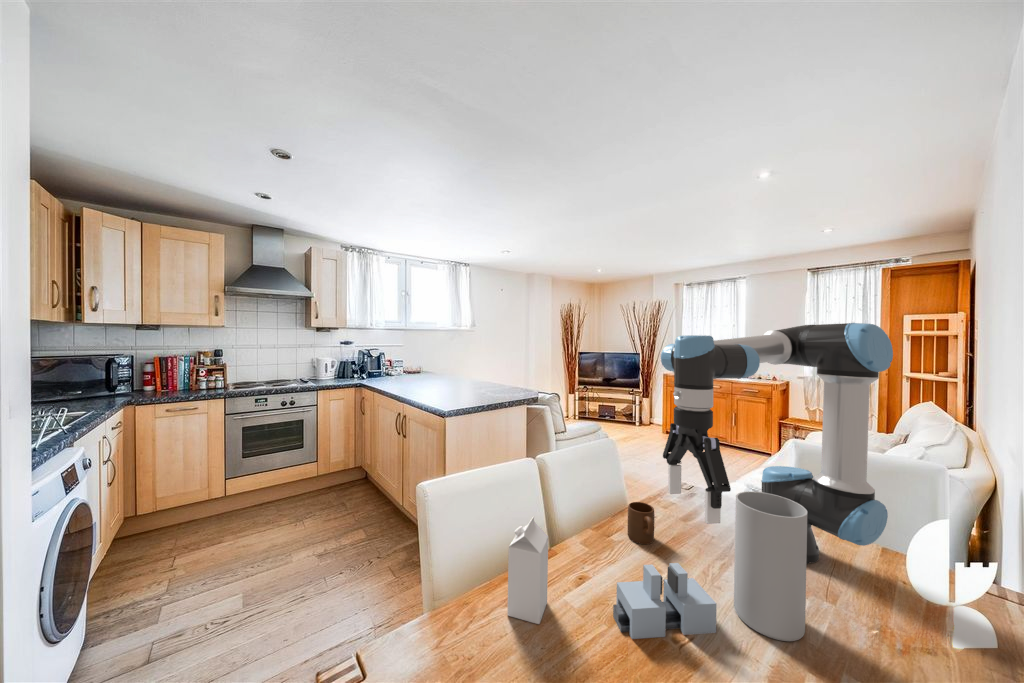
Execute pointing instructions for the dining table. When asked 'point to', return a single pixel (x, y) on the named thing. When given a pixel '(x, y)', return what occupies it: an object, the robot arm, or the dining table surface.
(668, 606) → the rail
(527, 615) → the milk carton
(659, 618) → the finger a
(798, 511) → the cylinder vase
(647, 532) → the mug
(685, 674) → the dining table surface
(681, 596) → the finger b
